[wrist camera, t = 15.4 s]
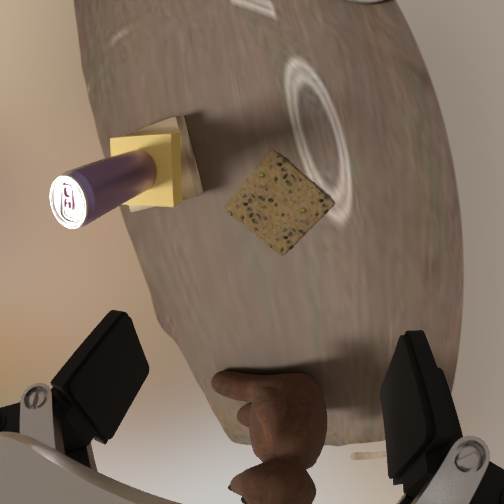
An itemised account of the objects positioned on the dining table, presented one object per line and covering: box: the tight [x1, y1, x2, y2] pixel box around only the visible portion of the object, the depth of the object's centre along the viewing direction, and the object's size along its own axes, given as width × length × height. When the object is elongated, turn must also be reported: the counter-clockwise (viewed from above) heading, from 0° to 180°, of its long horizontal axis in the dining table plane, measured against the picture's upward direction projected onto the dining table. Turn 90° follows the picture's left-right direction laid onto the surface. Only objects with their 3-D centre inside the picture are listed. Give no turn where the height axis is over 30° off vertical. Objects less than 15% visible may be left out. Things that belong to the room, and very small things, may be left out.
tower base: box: [125, 116, 204, 212], centre depth 41 cm, size 12×12×3 cm
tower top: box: [110, 133, 182, 207], centre depth 39 cm, size 10×10×3 cm
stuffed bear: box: [211, 371, 327, 504], centre depth 45 cm, size 29×23×35 cm
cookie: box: [224, 149, 334, 256], centre depth 42 cm, size 12×12×1 cm
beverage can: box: [50, 150, 157, 229], centre depth 31 cm, size 6×6×15 cm
